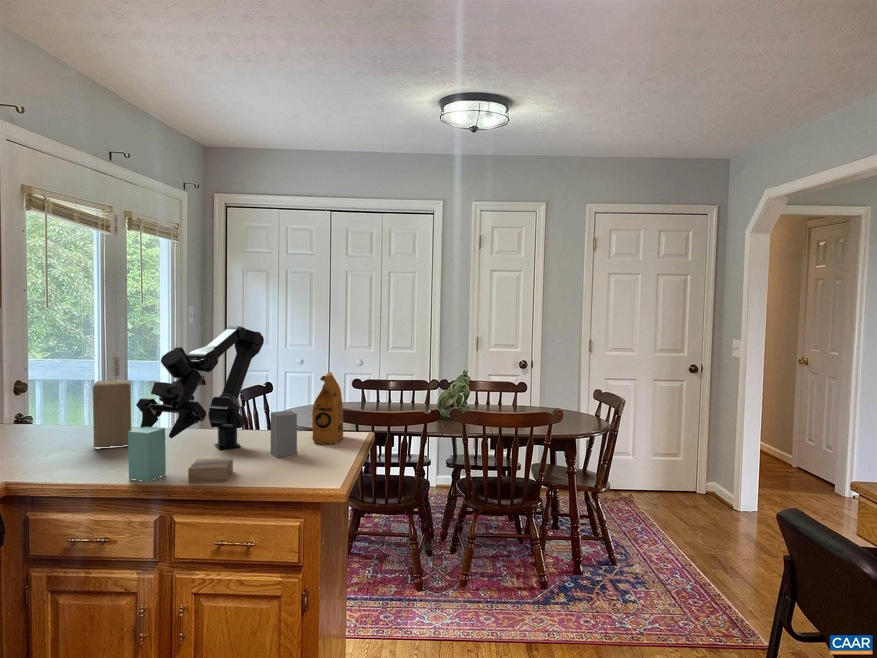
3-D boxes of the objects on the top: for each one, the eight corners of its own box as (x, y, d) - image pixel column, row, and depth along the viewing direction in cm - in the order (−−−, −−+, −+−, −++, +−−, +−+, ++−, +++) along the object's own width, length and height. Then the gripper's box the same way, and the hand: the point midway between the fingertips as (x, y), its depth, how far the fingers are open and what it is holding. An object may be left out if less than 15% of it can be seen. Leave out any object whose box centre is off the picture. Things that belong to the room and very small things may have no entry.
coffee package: (307, 444, 184) (307, 376, 183) (318, 435, 197) (318, 371, 196) (337, 445, 183) (337, 376, 182) (346, 436, 196) (347, 371, 195)
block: (93, 450, 174) (92, 385, 173) (95, 443, 183) (94, 380, 182) (131, 447, 178) (130, 383, 178) (131, 440, 187) (130, 379, 186)
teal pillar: (146, 473, 152) (146, 426, 151) (165, 475, 150) (165, 428, 150) (128, 480, 146) (128, 431, 146) (148, 482, 145) (147, 433, 144)
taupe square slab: (197, 473, 153) (197, 459, 153) (232, 472, 154) (232, 458, 154) (188, 484, 144) (188, 468, 144) (226, 483, 146) (225, 467, 145)
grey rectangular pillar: (270, 453, 173) (270, 412, 172) (290, 450, 176) (290, 410, 175) (276, 458, 168) (276, 415, 167) (296, 455, 171) (296, 413, 170)
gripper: (141, 368, 157) (108, 416, 147) (199, 371, 152) (169, 420, 142) (162, 393, 165) (132, 439, 155) (218, 396, 160) (191, 445, 150)
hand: (155, 436), depth 151 cm, fingers open, 9 cm apart
